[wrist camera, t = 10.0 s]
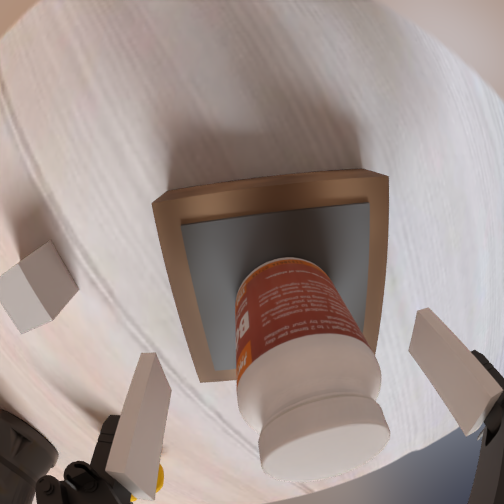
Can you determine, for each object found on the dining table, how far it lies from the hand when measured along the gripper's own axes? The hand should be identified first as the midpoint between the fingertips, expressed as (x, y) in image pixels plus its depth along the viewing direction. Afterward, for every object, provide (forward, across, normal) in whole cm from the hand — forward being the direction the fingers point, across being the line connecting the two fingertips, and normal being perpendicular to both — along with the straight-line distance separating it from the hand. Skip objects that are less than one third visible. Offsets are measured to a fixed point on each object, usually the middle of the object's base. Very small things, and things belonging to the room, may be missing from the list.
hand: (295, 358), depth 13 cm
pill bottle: (+6, 0, 0) cm, 6 cm away
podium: (+10, 0, 0) cm, 10 cm away
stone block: (+10, -20, +2) cm, 22 cm away
